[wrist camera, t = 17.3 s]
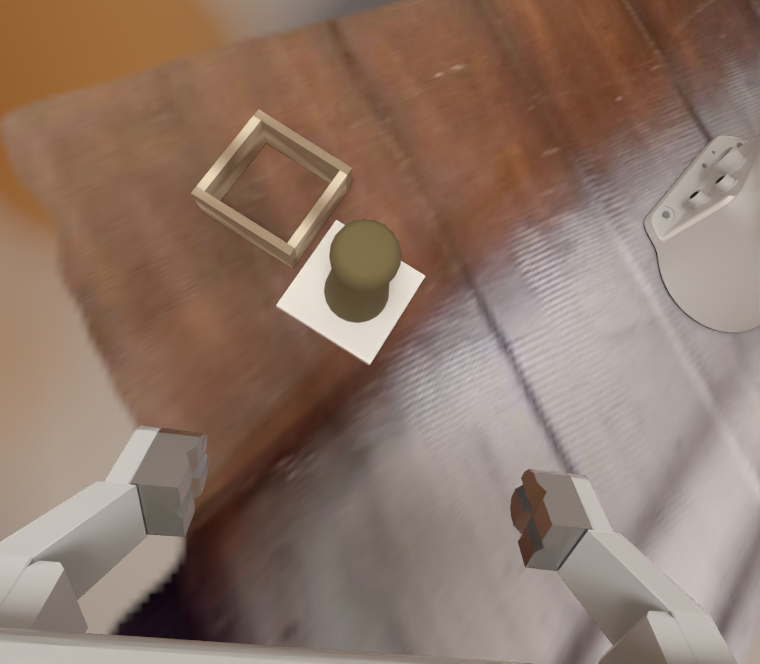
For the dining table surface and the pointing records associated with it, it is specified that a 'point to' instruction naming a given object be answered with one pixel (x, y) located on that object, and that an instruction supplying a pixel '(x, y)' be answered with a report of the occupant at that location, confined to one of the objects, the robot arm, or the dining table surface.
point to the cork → (361, 270)
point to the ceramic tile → (314, 313)
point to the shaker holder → (238, 159)
